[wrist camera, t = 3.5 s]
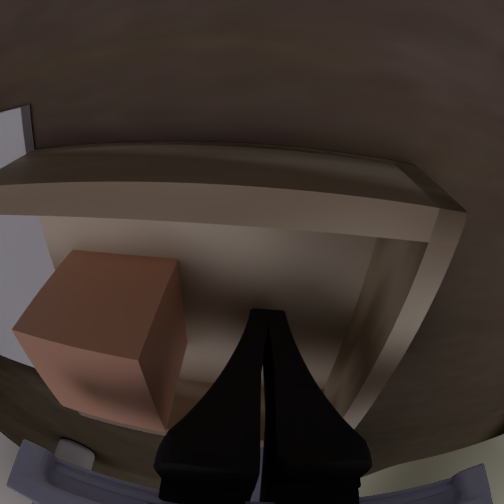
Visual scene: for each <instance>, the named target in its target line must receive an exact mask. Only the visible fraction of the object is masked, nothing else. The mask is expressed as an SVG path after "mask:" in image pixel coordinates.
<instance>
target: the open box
mask: <svg viewBox="0 0 504 504" xmlns="http://www.w3.org/2000/svg"><path fill="white" fill-rule="evenodd" d="M468 214H469V213H468V212H467V211H466V210H465V209H464V208H463V207H462V206H461V205H459V204H458V203H457V202H456V201H455V200H454V199H453V198H452V197H451V196H450V195H449V194H447V193H446V192H445V191H444V190H443V189H442V188H441V187H440V186H438V185H437V184H436V183H435V182H434V181H433V180H432V179H430V178H429V177H428V176H427V175H426V174H424V173H423V172H422V171H421V170H420V169H418V168H417V167H416V166H415V165H413V164H409V163H404V162H399V161H393V160H388V159H382V158H376V157H370V156H363V155H357V154H350V153H342V152H335V151H327V150H319V149H310V148H300V147H290V146H278V145H266V144H251V143H233V142H206V141H141V142H115V143H97V144H83V145H71V146H61V147H51V148H42V149H35V150H33V151H31V152H29V153H27V154H25V155H23V156H22V157H20V158H18V159H16V160H14V161H13V162H11V163H9V164H8V165H6V166H4V167H2V168H1V169H0V215H31V216H39V218H40V222H41V226H42V229H43V233H44V236H45V240H46V243H47V247H48V250H49V253H50V256H51V259H52V263H53V266H54V269H55V270H56V269H57V268H58V266H59V265H60V264H61V263H62V262H63V260H64V259H65V258H66V257H67V255H68V254H69V253H70V252H71V251H72V250H80V251H91V252H102V253H113V254H125V255H137V256H148V257H160V258H172V259H178V266H179V276H180V285H181V294H182V303H183V312H184V320H185V327H186V335H187V342H188V343H187V347H186V351H185V355H184V359H183V363H182V367H181V371H180V375H179V379H178V383H177V387H176V391H175V395H174V400H173V404H172V408H171V412H170V417H169V421H168V426H167V430H166V432H162V431H156V430H151V429H146V428H142V427H137V426H133V425H128V424H124V423H120V422H116V421H112V420H108V419H104V418H101V417H97V416H94V415H90V414H87V413H84V412H80V411H78V412H79V413H80V415H82V416H86V417H89V418H92V419H96V420H99V421H103V422H107V423H110V424H114V425H118V426H122V427H126V428H130V429H135V430H139V431H144V432H149V433H153V434H159V435H164V436H165V435H166V433H167V432H168V430H170V429H171V428H172V427H173V426H174V425H175V424H176V423H177V422H179V421H180V420H181V419H182V418H183V417H184V416H185V415H186V414H187V413H188V412H189V411H190V410H191V409H192V408H193V407H194V406H195V405H196V404H197V403H198V402H199V401H200V399H201V398H202V397H203V396H204V395H205V394H206V392H207V391H208V390H209V389H210V387H211V386H212V385H213V383H214V382H215V381H216V379H217V378H218V377H219V375H220V374H221V372H222V371H223V369H224V368H225V366H226V365H227V363H228V361H229V359H230V358H231V356H232V354H233V352H234V351H235V349H236V347H237V345H238V343H239V341H240V339H241V336H242V334H243V332H244V329H245V327H246V324H247V321H248V318H249V313H250V310H251V309H253V308H256V309H270V310H283V311H284V312H285V313H286V317H287V321H288V324H289V327H290V330H291V333H292V335H293V338H294V340H295V343H296V345H297V347H298V349H299V352H300V354H301V356H302V358H303V360H304V362H305V364H306V366H307V368H308V369H309V371H310V373H311V375H312V376H313V378H314V380H315V381H316V383H317V384H318V386H319V388H320V389H321V390H322V392H323V393H324V395H325V396H326V398H327V399H328V400H329V401H330V403H331V404H332V405H333V406H334V408H335V409H336V410H337V411H338V413H339V414H340V415H341V416H342V417H343V418H344V420H345V421H346V422H347V423H348V424H349V425H350V426H351V427H352V428H353V429H355V428H356V426H357V425H358V424H359V422H360V421H361V420H362V418H363V417H364V416H365V414H366V413H367V411H368V410H369V408H370V407H371V406H372V404H373V403H374V401H375V400H376V398H377V397H378V395H379V394H380V392H381V391H382V389H383V388H384V386H385V385H386V383H387V382H388V380H389V379H390V377H391V375H392V374H393V372H394V371H395V369H396V367H397V366H398V364H399V362H400V361H401V359H402V357H403V356H404V354H405V352H406V350H407V349H408V347H409V345H410V343H411V342H412V340H413V338H414V336H415V334H416V332H417V331H418V329H419V327H420V325H421V323H422V321H423V319H424V317H425V315H426V313H427V311H428V309H429V307H430V305H431V303H432V301H433V299H434V297H435V295H436V293H437V291H438V289H439V286H440V284H441V282H442V280H443V278H444V275H445V273H446V271H447V268H448V266H449V264H450V261H451V259H452V256H453V254H454V252H455V249H456V246H457V244H458V241H459V239H460V236H461V233H462V231H463V228H464V225H465V222H466V219H467V217H468ZM264 429H265V399H264V380H263V365H262V372H261V424H260V447H263V446H264Z"/></svg>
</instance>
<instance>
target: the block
mask: <svg viewBox="0 0 504 504" xmlns="http://www.w3.org/2000/svg"><path fill="white" fill-rule="evenodd" d="M12 331H13V333H14V335H15V336H16V338H17V340H18V341H19V343H20V345H21V346H22V348H23V350H24V351H25V353H26V355H27V356H28V358H29V359H30V361H31V362H32V364H33V366H34V367H35V369H36V370H37V372H38V373H39V374H40V376H41V377H42V379H43V380H44V382H45V383H46V385H47V386H48V387H49V389H50V390H51V391H52V393H53V394H54V395H55V397H56V398H57V399H58V401H59V402H60V403H61V405H62V406H65V407H68V408H71V409H74V410H77V411H80V412H84V413H87V414H90V415H94V416H97V417H101V418H104V419H108V420H112V421H116V422H120V423H124V424H128V425H133V426H137V427H142V428H146V429H151V430H156V431H162V432H166V430H167V426H168V421H169V417H170V412H171V408H172V404H173V400H174V395H175V391H176V387H177V383H178V379H179V375H180V371H181V367H182V363H183V359H184V355H185V351H186V347H187V343H188V342H187V335H186V327H185V320H184V312H183V303H182V294H181V285H180V276H179V266H178V259H172V258H160V257H148V256H137V255H125V254H113V253H102V252H91V251H80V250H72V251H71V252H70V253H69V254H68V255H67V257H66V258H65V259H64V260H63V262H62V263H61V264H60V265H59V266H58V268H57V269H56V270H55V271H54V273H53V274H52V275H51V276H50V278H49V279H48V280H47V282H46V283H45V284H44V285H43V287H42V288H41V289H40V291H39V292H38V293H37V295H36V296H35V297H34V299H33V300H32V301H31V303H30V304H29V305H28V307H27V308H26V310H25V311H24V312H23V314H22V315H21V317H20V318H19V320H18V321H17V322H16V324H15V325H14V327H13V328H12Z"/></svg>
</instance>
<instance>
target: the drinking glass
mask: <svg viewBox="0 0 504 504" xmlns="http://www.w3.org/2000/svg"><path fill="white" fill-rule="evenodd" d="M54 455H55V456H56V458H59V459H61V460H64V461H66V462H69V463H71V464H74V465H77V466H79V467H82V468H85V469H88V470H92V466H93V463H94V459H95V455H94V453H93V452H92V451H91V450H89V449H88V448H86V447H85V446H83V445H81V444H79V443H77V442H75V441H72V440H69V439H60V440H59V442H58V444H57V447H56V450H55V452H54ZM32 504H37V503H35V502H33V503H32Z"/></svg>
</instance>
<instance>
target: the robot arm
mask: <svg viewBox="0 0 504 504" xmlns="http://www.w3.org/2000/svg"><path fill="white" fill-rule="evenodd" d="M262 365H263V380H264V399H265V429H264V446H263V447H260V424H261V372H262ZM371 467H372V459H371V455H370V451H369V448H368V445H367V443H366V441H365V440H364V439H363V438H362V437H361V436H360V435H359V434H358V433H357V432H356V431H355V430H354V429H353V428H352V427H351V426H350V425H349V424H348V423H347V422H346V421H345V420H344V418H343V417H342V416H341V415H340V414H339V413H338V411H337V410H336V409H335V408H334V406H333V405H332V404H331V403H330V401H329V400H328V399H327V398H326V396H325V395H324V393H323V392H322V390H321V389H320V388H319V386H318V384H317V383H316V381H315V380H314V378H313V376H312V375H311V373H310V371H309V369H308V368H307V366H306V364H305V362H304V360H303V358H302V356H301V354H300V352H299V349H298V347H297V345H296V343H295V340H294V338H293V335H292V333H291V330H290V327H289V324H288V321H287V317H286V313H285V312H284V311H283V310H270V309H256V308H253V309H251V310H250V313H249V318H248V321H247V324H246V327H245V329H244V332H243V334H242V336H241V339H240V341H239V343H238V345H237V347H236V349H235V351H234V352H233V354H232V356H231V358H230V359H229V361H228V363H227V365H226V366H225V368H224V369H223V371H222V372H221V374H220V375H219V377H218V378H217V379H216V381H215V382H214V383H213V385H212V386H211V387H210V389H209V390H208V391H207V392H206V394H205V395H204V396H203V397H202V398H201V399H200V401H199V402H198V403H197V404H196V405H195V406H194V407H193V408H192V409H191V410H190V411H189V412H188V413H187V414H186V415H185V416H184V417H183V418H182V419H181V420H180V421H179V422H177V423H176V424H175V425H174V426H173V427H172V428H171V429H170V430H168V432H167V433H166V435H165V437H164V438H163V440H162V442H161V444H160V446H159V448H158V451H157V454H156V458H155V463H154V469H155V470H156V472H157V473H158V474H159V476H160V477H161V478H162V479H161V485H160V489H155V488H151V487H147V486H142V485H138V484H134V483H131V482H127V481H123V480H120V479H116V478H113V477H109V476H106V475H103V474H100V473H97V472H94V471H91V470H88V469H85V468H82V467H79V466H77V465H74V464H71V463H69V462H66V461H64V460H61V459H59V458H56V456H55V455H54V454H53V453H51V452H50V451H48V450H47V449H45V448H43V447H41V446H38V445H36V444H34V443H32V442H30V441H28V440H26V439H24V440H23V441H22V444H21V446H20V449H19V451H18V454H17V457H16V459H15V462H14V465H13V467H12V471H11V473H10V476H9V479H8V482H7V487H9V488H10V489H12V490H14V491H15V492H17V493H19V494H21V495H22V496H24V497H26V498H28V499H30V500H31V501H33V502H35V503H37V504H493V502H492V497H491V492H490V488H489V483H488V479H487V475H486V470H485V466H484V464H479V465H477V466H474V467H471V468H468V469H466V470H463V471H461V472H459V473H457V474H456V475H454V476H453V477H452V478H449V479H446V480H442V481H438V482H435V483H431V484H427V485H423V486H419V487H415V488H411V489H406V490H402V491H396V492H391V493H385V494H379V495H373V496H366V497H359V492H358V488H359V487H360V486H361V483H360V477H362V476H363V475H364V474H365V473H367V472H368V471H369V470H370V468H371Z"/></svg>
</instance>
